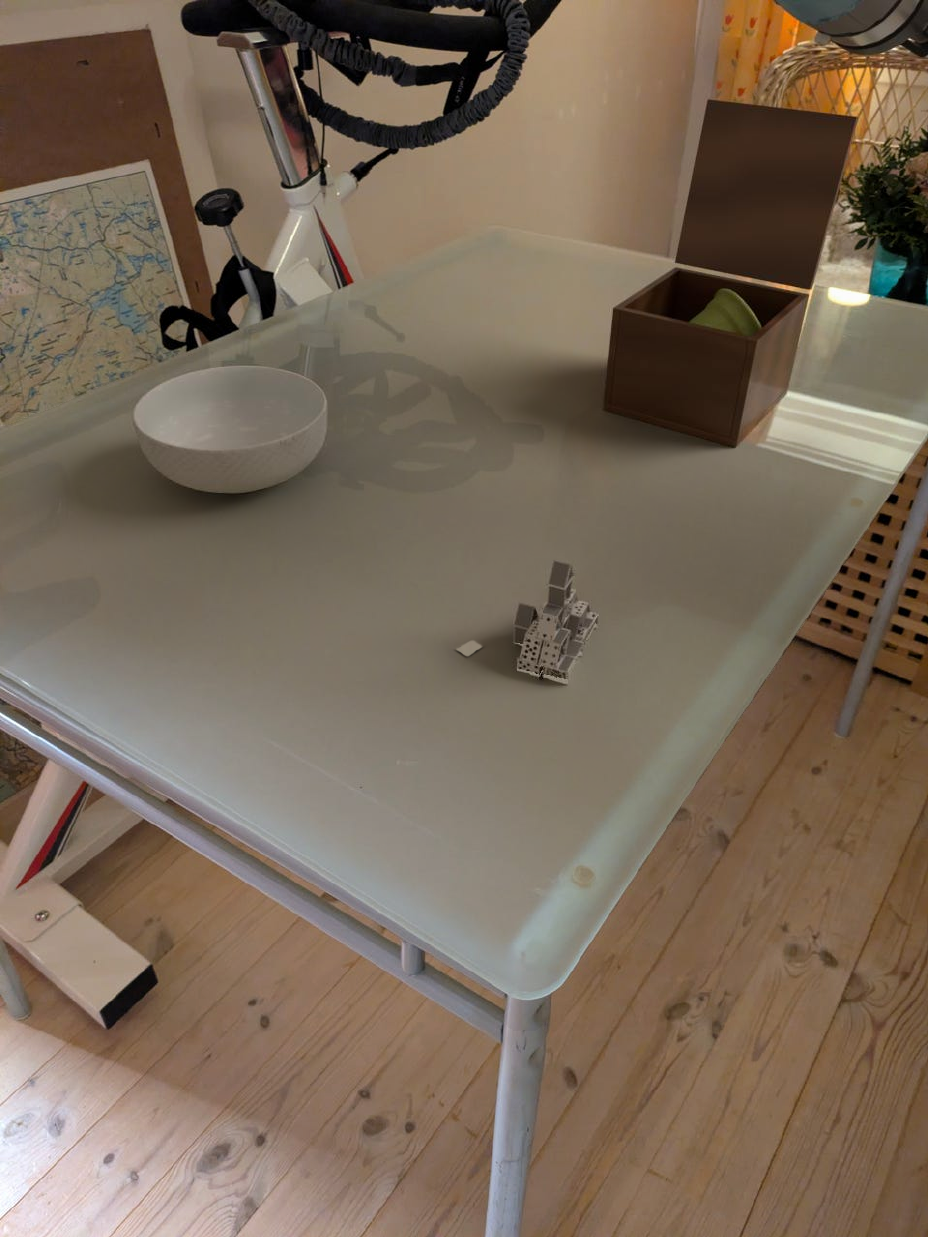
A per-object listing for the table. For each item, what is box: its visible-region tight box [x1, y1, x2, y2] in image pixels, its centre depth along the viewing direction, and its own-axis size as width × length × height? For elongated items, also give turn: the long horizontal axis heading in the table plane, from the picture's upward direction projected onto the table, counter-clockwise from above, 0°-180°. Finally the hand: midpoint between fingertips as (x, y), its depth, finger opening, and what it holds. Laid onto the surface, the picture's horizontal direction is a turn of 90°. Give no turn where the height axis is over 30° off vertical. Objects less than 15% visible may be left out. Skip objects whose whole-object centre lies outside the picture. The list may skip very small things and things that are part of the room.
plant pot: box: [690, 289, 762, 337], centre depth 97 cm, size 9×9×9 cm
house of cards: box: [512, 559, 600, 680], centre depth 68 cm, size 9×9×8 cm
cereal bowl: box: [132, 365, 329, 494], centre depth 87 cm, size 17×17×7 cm
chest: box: [602, 266, 810, 448], centre depth 97 cm, size 15×15×11 cm
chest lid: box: [674, 98, 860, 291], centre depth 95 cm, size 15×15×1 cm
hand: (921, 35), depth 81 cm, fingers open, 13 cm apart
